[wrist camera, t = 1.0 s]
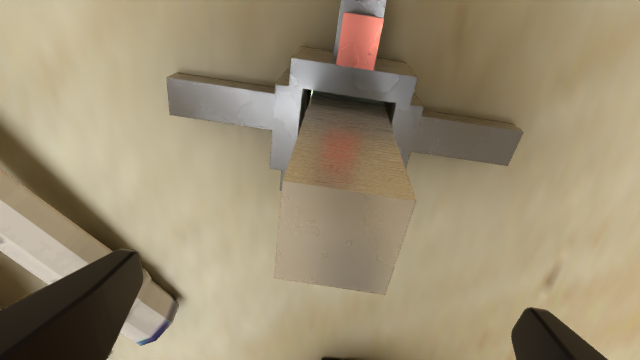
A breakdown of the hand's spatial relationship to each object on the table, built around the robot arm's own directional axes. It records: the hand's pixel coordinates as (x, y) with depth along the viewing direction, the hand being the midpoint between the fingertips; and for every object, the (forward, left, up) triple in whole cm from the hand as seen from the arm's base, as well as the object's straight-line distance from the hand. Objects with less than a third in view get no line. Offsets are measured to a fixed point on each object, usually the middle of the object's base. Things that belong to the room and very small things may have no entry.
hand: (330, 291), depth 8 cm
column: (0, 0, -13) cm, 13 cm away
